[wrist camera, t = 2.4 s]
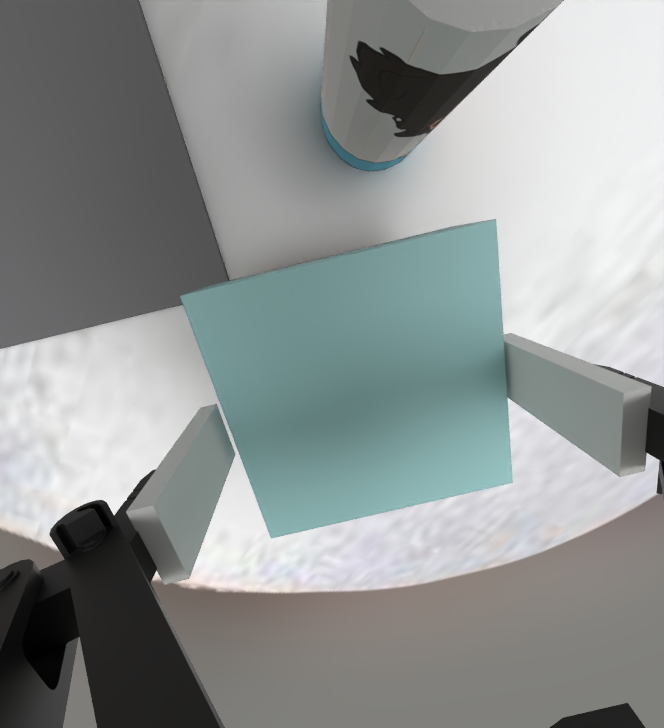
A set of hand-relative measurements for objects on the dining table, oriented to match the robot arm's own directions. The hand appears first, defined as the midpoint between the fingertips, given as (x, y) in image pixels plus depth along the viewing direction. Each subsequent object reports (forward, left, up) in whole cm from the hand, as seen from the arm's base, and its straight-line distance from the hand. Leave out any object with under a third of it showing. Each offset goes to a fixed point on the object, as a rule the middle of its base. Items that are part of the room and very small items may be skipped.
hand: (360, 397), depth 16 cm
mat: (-14, -16, -11) cm, 24 cm away
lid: (0, 0, -4) cm, 4 cm away
